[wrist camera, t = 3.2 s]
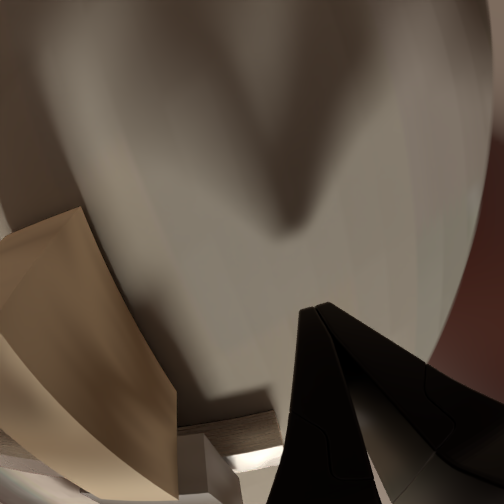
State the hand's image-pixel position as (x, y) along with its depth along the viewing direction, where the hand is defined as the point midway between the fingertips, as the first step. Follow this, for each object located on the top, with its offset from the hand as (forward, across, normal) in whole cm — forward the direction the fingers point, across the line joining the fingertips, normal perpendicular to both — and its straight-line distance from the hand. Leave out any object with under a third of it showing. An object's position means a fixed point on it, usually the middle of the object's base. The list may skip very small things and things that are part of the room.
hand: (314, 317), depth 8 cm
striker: (+2, +7, +3) cm, 7 cm away
